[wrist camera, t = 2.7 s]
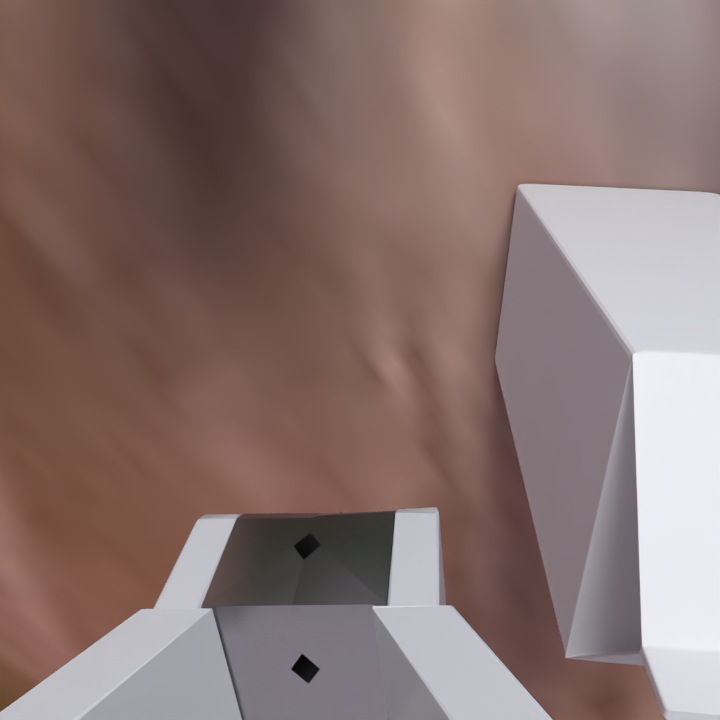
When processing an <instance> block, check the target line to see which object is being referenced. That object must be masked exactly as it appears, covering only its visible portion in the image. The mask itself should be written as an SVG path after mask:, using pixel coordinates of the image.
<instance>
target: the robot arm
mask: <svg viewBox="0 0 720 720" xmlns="http://www.w3.org/2000/svg"><path fill="white" fill-rule="evenodd" d="M0 720H552V719H551V717H550V716H549V715H548V714H547V713H546V712H545V711H544V709H543V708H542V707H541V706H540V705H539V704H538V703H537V701H536V700H535V699H534V698H533V697H532V696H531V695H530V694H529V692H528V691H527V690H526V689H525V688H524V687H523V686H522V684H521V683H520V682H519V681H518V680H517V679H516V678H515V676H514V675H513V674H512V673H511V672H510V671H509V670H508V668H507V667H506V666H505V665H504V664H503V663H502V662H501V660H500V659H499V658H498V657H497V656H496V655H495V654H494V653H493V651H492V650H491V649H490V648H489V647H488V646H487V645H486V643H485V642H484V641H483V640H482V639H481V638H480V637H479V635H478V634H477V633H476V632H475V631H474V630H473V629H472V627H471V626H470V625H469V624H468V623H467V622H466V621H465V619H464V618H463V617H462V616H461V615H460V614H459V613H458V612H457V610H456V609H455V608H454V607H453V606H450V605H449V606H446V598H445V584H444V570H443V557H442V544H441V531H440V519H439V512H438V510H437V508H436V507H430V508H413V509H397V511H379V512H351V513H323V514H319V513H271V514H242V515H239V514H220V515H204V516H202V517H201V518H200V519H198V520H197V521H196V523H195V525H194V527H193V529H192V531H191V533H190V535H189V537H188V539H187V541H186V543H185V545H184V547H183V549H182V551H181V553H180V555H179V557H178V559H177V561H176V564H175V566H174V568H173V570H172V572H171V574H170V576H169V578H168V580H167V582H166V584H165V586H164V588H163V590H162V592H161V594H160V596H159V598H158V600H157V602H156V604H155V606H154V608H153V609H141V610H140V611H138V612H137V613H135V614H134V615H133V616H131V617H130V618H129V619H127V620H126V621H125V622H123V623H122V624H120V625H119V626H118V627H116V628H115V629H114V630H112V631H111V632H109V633H108V634H107V635H105V636H104V637H103V638H101V639H100V640H99V641H97V642H96V643H94V644H93V645H92V646H90V647H89V648H88V649H86V650H85V651H83V652H82V653H81V654H79V655H78V656H77V657H75V658H74V659H73V660H71V661H70V662H68V663H67V664H66V665H64V666H63V667H62V668H60V669H59V670H57V671H56V672H55V673H53V674H52V675H51V676H49V677H48V678H47V679H45V680H44V681H42V682H41V683H40V684H38V685H37V686H36V687H34V688H33V689H31V690H30V691H29V692H27V693H26V694H25V695H23V696H22V697H21V698H19V699H18V700H16V701H15V702H14V703H12V704H11V705H10V706H8V707H7V708H5V709H4V710H3V711H1V712H0Z"/></svg>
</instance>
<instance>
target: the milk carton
mask: <svg viewBox="0 0 720 720" xmlns="http://www.w3.org/2000/svg"><path fill="white" fill-rule="evenodd" d="M495 364H496V368H497V372H498V376H499V380H500V385H501V389H502V393H503V397H504V401H505V406H506V410H507V414H508V418H509V422H510V427H511V431H512V435H513V439H514V443H515V448H516V452H517V456H518V460H519V464H520V468H521V473H522V477H523V481H524V485H525V489H526V494H527V498H528V502H529V506H530V510H531V515H532V519H533V523H534V527H535V531H536V536H537V540H538V544H539V548H540V552H541V557H542V561H543V565H544V569H545V573H546V577H547V582H548V586H549V590H550V594H551V598H552V603H553V607H554V611H555V615H556V619H557V623H558V627H559V631H560V635H561V639H562V643H563V647H564V651H565V658H568V659H577V660H588V661H598V662H609V663H620V664H631V665H642V666H645V669H646V672H647V674H648V677H649V680H650V683H651V685H652V688H653V691H654V694H655V696H656V699H657V702H658V705H659V708H660V710H661V713H662V715H663V717H664V718H666V719H667V720H720V195H718V194H715V193H708V192H691V191H671V190H650V189H629V188H608V187H588V186H567V185H546V184H520V185H518V187H517V191H516V199H515V207H514V215H513V222H512V230H511V238H510V246H509V253H508V261H507V269H506V277H505V284H504V292H503V300H502V308H501V315H500V323H499V331H498V339H497V346H496V354H495Z"/></svg>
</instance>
